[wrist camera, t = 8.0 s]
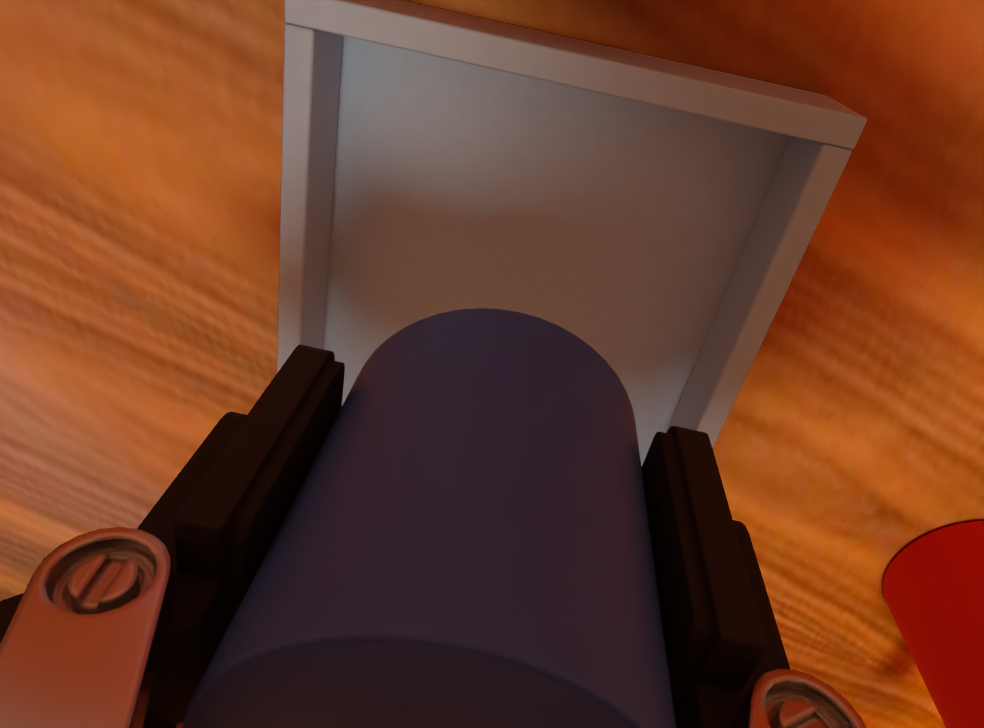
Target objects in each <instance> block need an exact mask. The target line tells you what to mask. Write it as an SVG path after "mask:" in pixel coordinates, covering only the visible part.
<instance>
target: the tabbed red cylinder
mask: <svg viewBox="0 0 984 728" xmlns="http://www.w3.org/2000/svg"><path fill="white" fill-rule="evenodd" d="M883 594H884V598H885V600H886V603H887V605H888V607H889V609H890V611H891V613H892V615H893V617H894V619H895V621H896V624H897V626H898V628H899V630H900V632H901V634H902V636H903V638H904V640H905V642H906V645H907V647H908V649H909V651H910V653H911V655H912V657H913V659H914V661H915V663H916V665H917V668H918V670H919V672H920V674H921V676H922V678H923V680H924V682H925V684H926V686H927V688H928V691H929V693H930V695H931V697H932V699H933V701H934V703H935V705H936V707H937V709H938V712H939V714H940V716H941V718H942V720H943V722H944V724H945V726H946V728H984V521H973V522H965V523H960V524H955V525H951V526H948V527H944V528H941V529H939V530H936V531H933V532H931V533H929V534H927V535H925V536H923V537H921V538H919V539H917V540H916V541H914V542H913V543H911V544H910V545H908V546H907V547H906V548H904V549H903V550H902V551H901V552H900V553H899V554H898V555H897V556H896V557H895V558H894V560H893V561H892V562H891V564H890V565H889V567H888V569H887V571H886V573H885V576H884V580H883Z"/></svg>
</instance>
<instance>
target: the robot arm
mask: <svg viewBox="0 0 984 728" xmlns="http://www.w3.org/2000/svg"><path fill="white" fill-rule="evenodd" d="M344 374H345V364H344V363H342V362H337V361H335V356H334V352H333V351H329V350H324V349H319V348H315V347H310V346H306V345H301V344H300V345H298V346H297V347H296V348H295V349H294V350H293V352H292V353H291V355H290V356H289V357H288V359H287V360H286V362H285V363H284V364H283V366H282V367H281V369H280V370H279V371H278V373H277V374H276V376H275V377H274V378H273V380H272V381H271V383H270V384H269V386H268V387H267V388H266V390H265V391H264V393H263V394H262V395H261V397H260V398H259V400H258V401H257V402H256V404H255V405H254V407H253V408H252V409H251V411H250V412H249V414H248V415H245V414H240V413H235V412H229V413H226V414H225V415H224V416H223V417H222V418H221V419H220V421H219V422H218V423H217V425H216V426H215V427H214V429H213V430H212V431H211V433H210V434H209V435H208V436H207V438H206V439H205V440H204V442H203V443H202V444H201V446H200V447H199V448H198V450H197V451H196V452H195V453H194V455H193V456H192V457H191V459H190V460H189V461H188V463H187V464H186V465H185V467H184V468H183V469H182V470H181V472H180V473H179V474H178V476H177V477H176V478H175V480H174V481H173V482H172V484H171V485H170V486H169V488H168V489H167V490H166V491H165V493H164V494H163V495H162V497H161V498H160V499H159V501H158V502H157V503H156V505H155V506H154V507H153V508H152V510H151V511H150V512H149V514H148V515H147V516H146V518H145V519H144V520H143V522H142V523H141V524H140V525H139V527H138V528H137V529H132V528H123V527H116V528H106V529H98V530H95V531H92V532H89V533H85V534H82V535H79V536H77V537H75V538H73V539H71V540H69V541H67V542H65V543H64V544H62V545H60V546H58V547H57V548H56V549H55V550H54V551H52V552H51V553H50V554H49V555H48V556H47V557H45V558H44V559H43V560H42V562H41V563H40V565H39V566H38V568H37V569H36V571H35V572H34V574H33V575H32V577H31V580H30V582H29V584H28V586H27V588H26V590H25V592H24V593H23V594H20V595H17V596H14V597H11V598H8V599H6V600H3V601H0V728H183V722H184V718H185V715H186V711H187V708H188V705H189V703H190V701H191V699H192V697H193V695H194V693H195V691H196V689H197V687H198V685H199V683H200V681H201V679H202V677H203V676H204V674H205V672H206V670H207V668H208V666H209V664H210V662H211V660H212V658H213V656H214V654H215V652H216V650H217V648H218V646H219V644H220V643H221V641H222V639H223V637H224V635H225V633H226V631H227V629H228V627H229V625H230V623H231V621H232V619H233V617H234V615H235V613H236V611H237V609H238V608H239V606H240V604H241V602H242V600H243V598H244V596H245V594H246V592H247V590H248V588H249V586H250V584H251V582H252V580H253V578H254V576H255V575H256V573H257V571H258V569H259V567H260V565H261V563H262V561H263V559H264V557H265V555H266V553H267V551H268V549H269V547H270V545H271V543H272V541H273V540H274V538H275V536H276V534H277V532H278V530H279V528H280V526H281V524H282V522H283V520H284V518H285V516H286V514H287V512H288V510H289V508H290V507H291V505H292V503H293V501H294V499H295V497H296V495H297V493H298V491H299V489H300V487H301V485H302V483H303V481H304V479H305V477H306V475H307V473H308V472H309V470H310V468H311V466H312V464H313V462H314V460H315V458H316V456H317V454H318V452H319V450H320V448H321V446H322V444H323V442H324V440H325V439H326V437H327V435H328V433H329V431H330V429H331V427H332V425H333V423H334V421H335V419H336V417H337V415H338V413H339V411H340V409H341V407H342V397H343V385H344ZM641 468H642V475H643V482H644V490H645V497H646V505H647V512H648V520H649V527H650V535H651V542H652V550H653V557H654V565H655V572H656V580H657V587H658V594H659V602H660V609H661V617H662V624H663V632H664V639H665V647H666V654H667V662H668V669H669V677H670V684H671V691H672V699H673V706H674V714H675V721H676V728H867V727H866V726H865V724H864V722H863V720H862V718H861V717H860V715H859V714H858V713H857V712H856V711H855V709H854V708H853V707H852V706H851V705H850V703H849V702H848V701H847V700H846V699H845V698H844V697H843V696H841V695H840V694H839V693H838V692H837V691H835V690H834V689H833V688H832V687H831V686H829V685H828V684H826V683H824V682H823V681H821V680H819V679H817V678H816V677H814V676H812V675H809V674H806V673H803V672H800V671H797V670H793V669H790V667H789V664H788V660H787V657H786V654H785V650H784V647H783V644H782V641H781V637H780V634H779V631H778V627H777V624H776V621H775V618H774V614H773V611H772V608H771V604H770V601H769V598H768V595H767V591H766V588H765V585H764V581H763V578H762V575H761V572H760V568H759V565H758V562H757V558H756V555H755V552H754V549H753V545H752V542H751V539H750V535H749V533H748V531H747V528H746V526H745V525H744V524H743V523H741V522H739V521H734V520H732V516H731V513H730V509H729V506H728V502H727V499H726V495H725V491H724V488H723V484H722V481H721V477H720V474H719V470H718V467H717V463H716V460H715V456H714V453H713V449H712V445H711V442H710V438H709V436H708V434H707V433H705V432H701V431H696V430H691V429H687V428H682V427H678V426H671V427H670V428H669V429H668V431H667V433H664V432H657V433H656V434H655V436H654V438H653V440H652V443H651V445H650V448H649V450H648V453H647V455H646V458H645V460H644V462H643V465H642V467H641Z"/></svg>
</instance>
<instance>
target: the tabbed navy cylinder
mask: <svg viewBox="0 0 984 728" xmlns="http://www.w3.org/2000/svg"><path fill="white" fill-rule="evenodd" d="M183 728H676V721H675V714H674V706H673V699H672V691H671V684H670V677H669V669H668V662H667V654H666V647H665V639H664V632H663V624H662V617H661V609H660V602H659V594H658V587H657V580H656V572H655V565H654V557H653V550H652V542H651V535H650V527H649V520H648V512H647V505H646V497H645V490H644V482H643V475H642V468H641V460H640V453H639V445H638V438H637V430H636V423H635V418H634V413H633V408H632V405H631V402H630V399H629V397H628V394H627V392H626V390H625V388H624V386H623V384H622V383H621V381H620V379H619V377H618V376H617V374H616V373H615V372H614V370H613V369H612V368H611V366H610V365H609V364H608V363H607V361H606V360H605V359H604V358H603V357H602V356H601V355H599V354H598V353H597V352H596V351H595V350H594V349H593V348H592V347H591V346H589V345H588V344H587V343H585V342H584V341H583V340H581V339H580V338H579V337H577V336H576V335H574V334H572V333H571V332H569V331H567V330H565V329H564V328H562V327H560V326H558V325H556V324H553V323H551V322H549V321H546V320H544V319H541V318H539V317H535V316H532V315H528V314H524V313H521V312H515V311H509V310H503V309H489V308H473V309H460V310H454V311H449V312H444V313H439V314H436V315H433V316H430V317H427V318H424V319H421V320H419V321H417V322H415V323H413V324H411V325H409V326H407V327H405V328H403V329H401V330H400V331H398V332H397V333H395V334H394V335H392V336H391V337H389V338H388V339H387V340H386V341H385V342H384V343H382V344H381V345H380V346H379V347H378V348H377V349H376V350H375V351H374V352H373V354H372V355H371V356H370V357H369V359H368V360H367V361H366V362H365V364H364V366H363V367H362V369H361V371H360V373H359V375H358V376H357V378H356V380H355V382H354V384H353V386H352V388H351V390H350V392H349V394H348V396H347V398H346V400H345V402H344V404H343V405H342V407H341V409H340V411H339V413H338V415H337V417H336V419H335V421H334V423H333V425H332V427H331V429H330V431H329V433H328V435H327V437H326V439H325V440H324V442H323V444H322V446H321V448H320V450H319V452H318V454H317V456H316V458H315V460H314V462H313V464H312V466H311V468H310V470H309V472H308V473H307V475H306V477H305V479H304V481H303V483H302V485H301V487H300V489H299V491H298V493H297V495H296V497H295V499H294V501H293V503H292V505H291V507H290V508H289V510H288V512H287V514H286V516H285V518H284V520H283V522H282V524H281V526H280V528H279V530H278V532H277V534H276V536H275V538H274V540H273V541H272V543H271V545H270V547H269V549H268V551H267V553H266V555H265V557H264V559H263V561H262V563H261V565H260V567H259V569H258V571H257V573H256V575H255V576H254V578H253V580H252V582H251V584H250V586H249V588H248V590H247V592H246V594H245V596H244V598H243V600H242V602H241V604H240V606H239V608H238V609H237V611H236V613H235V615H234V617H233V619H232V621H231V623H230V625H229V627H228V629H227V631H226V633H225V635H224V637H223V639H222V641H221V643H220V644H219V646H218V648H217V650H216V652H215V654H214V656H213V658H212V660H211V662H210V664H209V666H208V668H207V670H206V672H205V674H204V676H203V677H202V679H201V681H200V683H199V685H198V687H197V689H196V691H195V693H194V695H193V697H192V699H191V701H190V703H189V705H188V708H187V711H186V715H185V718H184V722H183Z"/></svg>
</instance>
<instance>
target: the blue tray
mask: <svg viewBox="0 0 984 728" xmlns="http://www.w3.org/2000/svg"><path fill="white" fill-rule="evenodd" d="M284 19H285V22H286V23H288V24H286V25H285V32H284V77H283V122H282V167H281V212H280V257H279V302H278V347H277V373H278V371H279V370H280V369H281V367H282V366H283V364H284V363H285V362H286V360H287V359H288V357H289V356H290V355H291V353H292V352H293V350H294V349H295V348H296V347H297V346H298V345H300V344H301V345H306V346H310V347H315V348H319V349H324V350H329V351H333V352H334V356H335V361H337V362H342V363H344V364H345V374H344V385H343V397H342V405H343V404H344V402H345V400H346V398H347V396H348V394H349V392H350V390H351V388H352V386H353V384H354V382H355V380H356V378H357V376H358V375H359V373H360V371H361V369H362V367H363V366H364V364H365V362H366V361H367V360H368V359H369V357H370V356H371V355H372V354H373V352H374V351H375V350H376V349H377V348H378V347H379V346H380V345H381V344H382V343H384V342H385V341H386V340H387V339H388V338H389V337H391V336H392V335H394V334H395V333H397V332H398V331H400V330H401V329H403V328H405V327H407V326H409V325H411V324H413V323H415V322H417V321H419V320H421V319H424V318H427V317H430V316H433V315H436V314H439V313H444V312H449V311H454V310H460V309H473V308H489V309H503V310H509V311H515V312H521V313H524V314H528V315H532V316H535V317H539V318H541V319H544V320H546V321H549V322H551V323H553V324H556V325H558V326H560V327H562V328H564V329H565V330H567V331H569V332H571V333H572V334H574V335H576V336H577V337H579V338H580V339H581V340H583V341H584V342H585V343H587V344H588V345H589V346H591V347H592V348H593V349H594V350H595V351H596V352H597V353H598V354H599V355H601V356H602V357H603V358H604V359H605V360H606V361H607V363H608V364H609V365H610V366H611V368H612V369H613V370H614V372H615V373H616V374H617V376H618V377H619V379H620V381H621V383H622V384H623V386H624V388H625V390H626V392H627V394H628V397H629V399H630V402H631V405H632V408H633V413H634V418H635V423H636V430H637V438H638V445H639V453H640V460H641V467H642V465H643V462H644V460H645V458H646V455H647V453H648V450H649V448H650V445H651V443H652V440H653V438H654V436H655V434H656V433H657V432H664V433H667V431H668V429H669V428H670V427H671V426H678V427H682V428H687V429H691V430H696V431H701V432H705V433H707V434H708V436H709V438H710V442H711V445H712V448H713V446H714V444H715V442H716V440H717V438H718V435H719V433H720V431H721V429H722V427H723V425H724V423H725V421H726V418H727V416H728V414H729V412H730V410H731V408H732V406H733V404H734V401H735V399H736V397H737V395H738V393H739V391H740V389H741V387H742V385H743V382H744V380H745V378H746V376H747V374H748V372H749V370H750V368H751V365H752V363H753V361H754V359H755V357H756V355H757V353H758V351H759V348H760V346H761V344H762V342H763V340H764V338H765V336H766V334H767V331H768V329H769V327H770V325H771V323H772V321H773V319H774V317H775V314H776V312H777V310H778V308H779V306H780V304H781V302H782V300H783V297H784V295H785V293H786V291H787V289H788V287H789V285H790V283H791V280H792V278H793V276H794V274H795V272H796V270H797V268H798V266H799V264H800V261H801V259H802V257H803V255H804V253H805V251H806V249H807V247H808V244H809V242H810V240H811V238H812V236H813V234H814V232H815V230H816V227H817V225H818V223H819V221H820V219H821V217H822V215H823V213H824V210H825V208H826V206H827V204H828V202H829V200H830V198H831V196H832V193H833V191H834V189H835V187H836V185H837V183H838V181H839V179H840V176H841V174H842V172H843V170H844V168H845V166H846V164H847V162H848V159H849V157H850V155H851V152H852V151H851V150H850V149H854V147H855V145H856V143H857V141H858V139H859V137H860V135H861V133H862V131H863V129H864V126H865V124H866V122H867V118H866V117H864V116H862V115H860V114H859V113H857V112H855V111H853V110H851V109H850V108H848V107H846V106H844V105H843V104H841V103H839V102H837V101H836V100H834V99H832V98H830V97H828V96H827V95H824V94H819V93H815V92H810V91H806V90H801V89H797V88H792V87H788V86H784V85H779V84H775V83H770V82H766V81H761V80H757V79H752V78H748V77H743V76H739V75H735V74H730V73H726V72H721V71H717V70H712V69H708V68H703V67H699V66H694V65H690V64H685V63H681V62H677V61H672V60H668V59H663V58H659V57H654V56H650V55H645V54H641V53H636V52H632V51H627V50H623V49H619V48H614V47H610V46H605V45H601V44H596V43H592V42H587V41H583V40H578V39H574V38H570V37H565V36H561V35H556V34H552V33H547V32H543V31H538V30H534V29H529V28H525V27H520V26H516V25H512V24H507V23H503V22H498V21H494V20H489V19H485V18H480V17H476V16H471V15H467V14H462V13H458V12H454V11H449V10H445V9H440V8H436V7H431V6H427V5H422V4H418V3H413V2H409V1H405V0H285V18H284Z"/></svg>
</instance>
